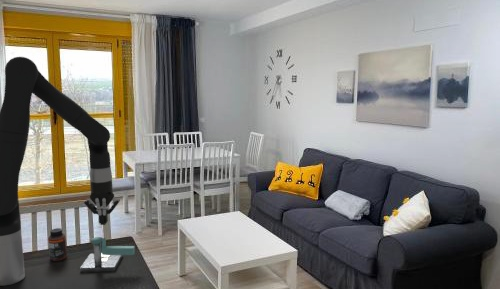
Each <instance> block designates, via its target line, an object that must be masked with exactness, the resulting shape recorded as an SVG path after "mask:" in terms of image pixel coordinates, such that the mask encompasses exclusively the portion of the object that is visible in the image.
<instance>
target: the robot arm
mask: <svg viewBox="0 0 500 289" xmlns="http://www.w3.org/2000/svg"><path fill="white" fill-rule="evenodd" d="M4 67H5V68H4V74H5V75H4V77H5V78H4V96H3V100H2V104H1V106H0V107H1V108H0V286H4V287H5V286H10V285H14V284H16V283H19V282H21V281H22V280H24V278H25V277H26V274H25V273H26V272H25V261H24V259H25V258H24V249H23V237H22V227H21V226H22V225H21V224H22V223H21V213H20V201H19V179H20V173H21V168H22V164H23V161H24V158H25V155H26V151H27V146H28V140H29V133H30V124H31V123H30V121H31V100H32V95H35V96H36V98H38V99H39V100H41V101H42V102H43V103H44V104H46V105H47V106H48V107H49V108H50V110H52V111H53V112H54V113H56V115H57V116H59V117H60V118H61V119H63V120H64V121H65V122H66V123H67V124H69V125H70V127H73V129H76V130H77V131H79V132H80V133H81V134H82V135H83V136H84V137H85V138H86V139H87V144H88V145H87V146H88V151H89V183H90V195H89V198H88V199H86V200H85V201H84V203H83V204H84V205H85V206H86V207H87V208H88V209H89V211H91V213H93V215H97V216H98V223H99V224H100V225H101V226H106V225H107V223H108V221H109V218H108V215H110V214H111V213H112V212H113V211H114V210H115V208H116V207H117V206H118V205H119V203H120V202H121V199H120V198H117V197H115V195H114V192H113V175H112V174H113V173H112V168H111V154H110V152H109V148H108V146H109V145H108V142H110V138H111V133H110V130H109V129H108V128H107V127H105V126H104V125H103V124H102V123H100V122H99V121H98V120H96V119H95V118H94V117H92V116H91V115H90V114H89V113H88V111H86V109H84V108H83V107H81V105H79V104H78V103H77V102H76V101H74V100H73V99H72V98H70V97H69V96H68V95H66V94H65V93H64V92H62V91H61V90H60V89H58V88H57V87H55V86H54V85H53V84H52V83H51V82H50V81H49V80H47V79H46V77H45V76H44V75H43V74H42V73H41V72H40V70H39V69H38V66H37V65H36V63H35V61H33V60H32V59H30V58H28V57H25V56H15V57H13V58H10V60H8V61H7V63H6V65H5V66H4ZM111 203H112V205H111V206H110V208H109V205H110V204H111Z"/></svg>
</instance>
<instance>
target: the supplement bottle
mask: <svg viewBox="0 0 500 289" xmlns="http://www.w3.org/2000/svg"><path fill="white" fill-rule="evenodd" d="M66 239H67V238H66V234H65V233H63V229H62V228H60V227H56V228H53V229H51V230H50V235H49V236H48V239H47V240H48V242H47V243H48V250H49V253H48V254H49V259H50V260H51V261H53V262H57V261H62V260H64V259H66V258H67V256H68V253H67V240H66Z"/></svg>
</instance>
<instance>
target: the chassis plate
mask: <svg viewBox="0 0 500 289" xmlns="http://www.w3.org/2000/svg"><path fill="white" fill-rule="evenodd" d="M123 256H124V255H102V243H100V244H93V253H89V255H88V256H87V257H86V259H85V260H84V261H83V263H82V264H81V266H80V267H79V273H90V272H115V271H116V269H117V268H118V265H119V264H120V263H121V260H122V259H123Z"/></svg>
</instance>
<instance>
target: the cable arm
mask: <svg viewBox="0 0 500 289" xmlns="http://www.w3.org/2000/svg"><path fill="white" fill-rule="evenodd" d="M90 243H91V245H94V244H100V243H101V253H102V255H123V256H134V255H135V253H136V247H135V246H136V245H124V246H123V245H107V239H106V237H105V238H104V237H102V236H101V237H100V236H96V237H92V238H91V239H90Z"/></svg>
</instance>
